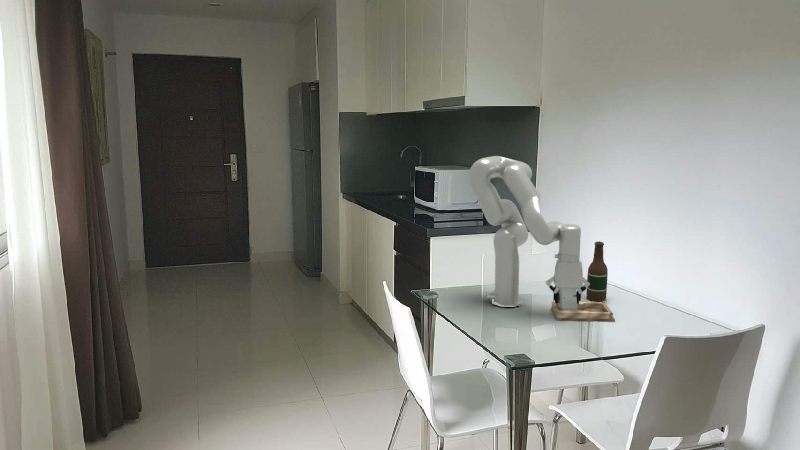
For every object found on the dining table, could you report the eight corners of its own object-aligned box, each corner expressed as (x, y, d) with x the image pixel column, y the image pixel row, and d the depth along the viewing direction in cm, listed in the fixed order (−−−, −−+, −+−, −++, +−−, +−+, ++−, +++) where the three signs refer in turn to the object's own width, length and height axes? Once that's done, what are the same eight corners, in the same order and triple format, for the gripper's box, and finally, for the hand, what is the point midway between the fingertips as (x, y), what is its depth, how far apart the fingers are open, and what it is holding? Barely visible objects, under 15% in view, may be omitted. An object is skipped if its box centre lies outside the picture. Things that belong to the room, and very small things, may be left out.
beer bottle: (607, 302, 238) (610, 244, 233) (587, 301, 240) (590, 244, 235) (604, 296, 245) (608, 240, 241) (585, 295, 247) (588, 239, 242)
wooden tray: (556, 320, 220) (557, 312, 219) (551, 308, 232) (551, 301, 232) (614, 321, 218) (615, 313, 217) (606, 309, 230) (606, 302, 230)
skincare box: (563, 312, 222) (560, 281, 220) (557, 308, 227) (555, 278, 224) (578, 309, 223) (576, 278, 221) (572, 305, 228) (570, 275, 225)
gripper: (546, 259, 218) (544, 305, 222) (595, 260, 216) (592, 306, 220) (543, 254, 225) (542, 299, 229) (590, 255, 224) (588, 299, 227)
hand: (566, 302), depth 225 cm, fingers closed on skincare box, 7 cm apart
